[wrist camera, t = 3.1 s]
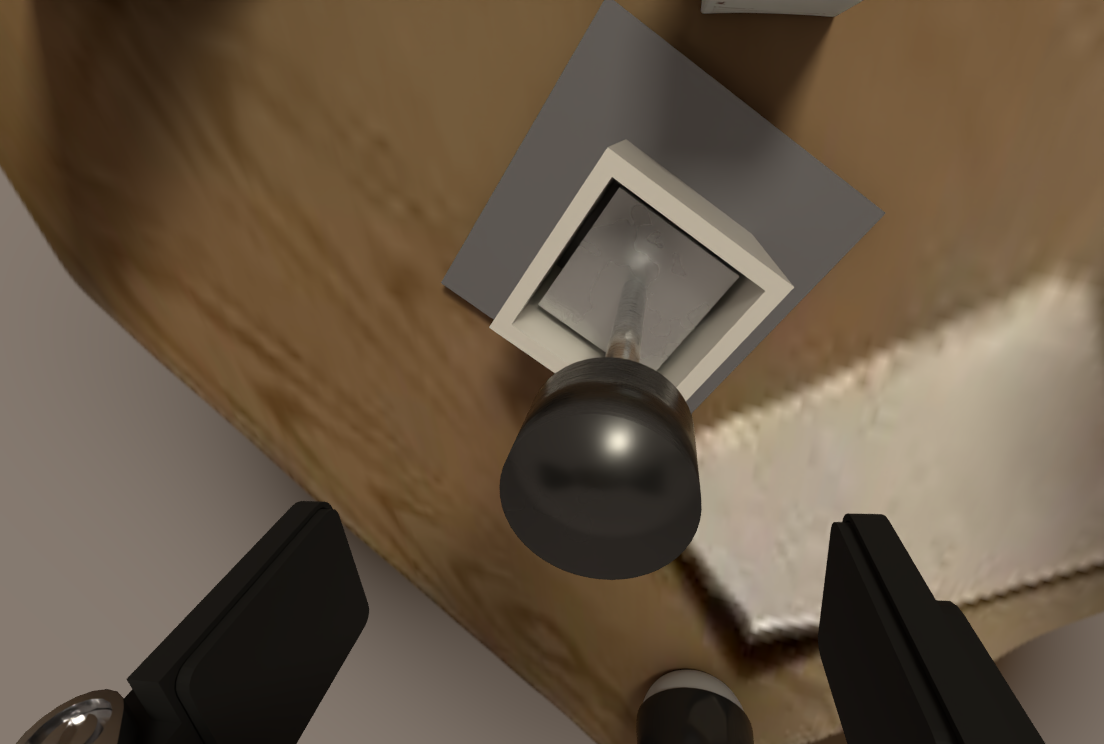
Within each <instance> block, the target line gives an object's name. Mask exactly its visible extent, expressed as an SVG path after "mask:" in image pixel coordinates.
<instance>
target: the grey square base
mask: <svg viewBox="0 0 1104 744" xmlns="http://www.w3.org/2000/svg"><path fill="white" fill-rule="evenodd" d="M620 186H622V187H623V188H625V189H626V190H627V191H629V192H630V193H631V194H633V195H634V196H635V197H637V198H638V199H639V200H641V201H642V202H643V203H645V204H646V205H647V206H649V207H650V208H652V209H653V210H654V211H656V212H657V213H658V214H660V215H661V216H662V217H664V218H665V219H666V220H668V221H669V222H670V223H672V224H673V225H674V226H676V227H677V228H678V229H680V230H681V231H682V232H684V233H685V234H686V235H688V236H689V237H690V238H692V239H693V240H695V241H696V242H697V243H699V244H700V245H701V246H703V247H704V248H705V249H707V250H708V251H709V252H711V253H712V254H713V255H715V256H716V257H717V258H719V259H720V260H721V261H723V262H724V263H725V264H727V265H728V266H729V267H731V268H732V269H734V270H735V271H736V272H737V273H738V275H739V278H738V279H737V280H736V281H735V282H734V283H733V284H732V286H731V287H730V288H729V289H728V290H727V291H726V292H725V294H724V295H723V296H722V297H721V298H720V299H719V300H718V301H717V303H716V304H715V305H714V306H713V307H712V308H711V309H710V311H709V312H708V313H707V314H706V315H705V316H704V317H703V318H702V320H701V321H700V322H699V323H698V324H697V325H696V326H695V328H694V329H693V330H692V331H691V332H690V333H689V334H688V335H687V337H686V338H685V339H684V340H683V341H682V342H681V343H680V345H679V346H678V347H677V348H676V349H675V350H674V351H673V352H672V354H671V355H670V356H669V357H668V358H667V359H666V360H665V361H664V363H663V364H662V365H661V366H660V367H659V368H658V369H657V372H659V373H660V374H662V375H663V376H664V377H665V378H667V379H668V380H669V381H670V382H671V383H672V384H673V385H674V386H675V387H676V388H677V389H678V390H679V392H680V393H681V395H682V396H683V397H684V399H685V401H686V403H687V405H688V407H689V409H690V412H691V413H692V412H693V411H694V410H695V409H696V408H697V407H698V406H699V405H700V404H701V403H702V402H703V401H704V400H705V399H706V398H707V397H708V396H709V395H710V394H711V393H712V392H713V391H714V389H715V388H716V387H717V386H718V385H719V384H720V383H721V382H722V381H723V380H724V379H725V378H726V377H727V376H728V375H729V374H730V373H731V372H732V371H733V370H734V369H735V368H736V367H737V366H738V365H739V364H740V363H741V362H742V361H743V360H744V359H745V358H746V357H747V355H748V354H749V353H750V352H751V351H752V350H753V349H754V348H755V347H756V346H757V345H758V344H759V343H760V342H761V341H762V340H763V339H764V338H765V337H766V336H767V335H768V334H769V333H770V332H771V331H772V330H773V329H774V328H775V327H776V326H777V325H778V324H779V323H780V321H781V320H782V319H783V318H784V317H785V316H786V315H787V314H788V313H789V312H790V311H791V310H792V309H793V308H794V307H795V306H796V305H797V304H798V303H799V302H800V301H801V300H802V299H803V298H804V297H805V296H806V295H807V294H808V293H809V292H810V291H811V290H812V289H813V287H814V286H815V285H816V284H817V283H818V282H819V281H820V280H821V279H822V278H823V277H824V276H825V275H826V274H827V273H828V272H829V271H830V270H831V269H832V268H833V267H834V266H835V265H836V264H837V263H838V262H839V261H840V260H841V259H842V258H843V257H844V256H845V255H846V253H847V252H848V251H849V250H850V249H851V248H852V247H853V246H854V245H855V244H856V243H857V242H858V241H859V240H860V239H861V238H862V237H863V236H864V235H865V234H866V233H867V232H868V231H869V230H870V229H871V228H872V227H873V226H874V225H875V224H876V223H877V222H878V221H879V220H880V218H881V217H882V216H883V215H884V214H885V212H884V211H882V210H881V209H880V208H879V207H877V206H876V205H875V204H873V203H872V202H871V201H870V200H868V199H867V198H866V197H864V196H863V195H862V194H861V193H859V192H858V191H857V190H856V189H854V188H853V187H852V186H850V185H849V184H848V183H847V182H845V181H844V180H843V179H841V178H840V177H839V176H838V175H836V174H835V173H834V172H833V171H831V170H830V169H829V168H827V167H826V166H825V165H824V164H822V163H821V162H820V161H818V160H817V159H816V158H815V157H813V156H812V155H811V154H809V153H808V152H807V151H806V150H804V149H803V148H802V147H801V146H799V145H798V144H797V143H795V142H794V141H793V140H792V139H790V138H789V137H788V136H786V135H785V134H784V133H783V132H781V131H780V130H779V129H778V128H776V127H775V126H774V125H772V124H771V123H770V122H769V121H767V120H766V119H765V118H763V117H762V116H761V115H760V114H758V113H757V112H756V111H755V110H753V109H752V108H751V107H749V106H748V105H747V104H746V103H744V102H743V101H742V100H740V99H739V98H738V97H737V96H735V95H734V94H733V93H732V92H730V91H729V90H728V89H726V88H725V87H724V86H723V85H721V84H720V83H719V82H717V81H716V80H715V79H714V78H712V77H711V76H710V75H708V74H707V73H706V72H705V71H703V70H702V69H701V68H700V67H698V66H697V65H696V64H694V63H693V62H692V61H691V60H689V59H688V58H687V57H685V56H684V55H683V54H682V53H680V52H679V51H678V50H677V49H675V48H674V47H673V46H671V45H670V44H669V43H668V42H666V41H665V40H664V39H662V38H661V37H660V36H659V35H657V34H656V33H655V32H654V31H652V30H651V29H650V28H648V27H647V26H646V25H645V24H643V23H642V22H641V21H639V20H638V19H637V18H636V17H634V16H633V15H632V14H631V13H629V12H628V11H627V10H625V9H624V8H623V7H622V6H620V5H619V4H618V3H616V2H615V1H614V0H604V2H603V3H602V5H601V7H600V8H599V10H598V12H597V14H596V15H595V17H594V19H593V21H592V22H591V24H590V26H589V28H588V29H587V31H586V33H585V34H584V36H583V38H582V40H581V41H580V43H579V45H578V47H577V48H576V50H575V52H574V54H573V55H572V57H571V59H570V60H569V62H568V64H567V66H566V67H565V69H564V71H563V73H562V74H561V76H560V78H559V79H558V81H557V83H556V85H555V86H554V88H553V90H552V92H551V93H550V95H549V97H548V99H547V100H546V102H545V104H544V105H543V107H542V109H541V111H540V112H539V114H538V116H537V118H536V119H535V121H534V123H533V125H532V126H531V128H530V130H529V131H528V133H527V135H526V137H525V138H524V140H523V142H522V144H521V145H520V147H519V149H518V150H517V152H516V154H515V156H514V157H513V159H512V161H511V163H510V164H509V166H508V168H507V170H506V171H505V173H504V175H503V176H502V178H501V180H500V182H499V183H498V185H497V187H496V189H495V190H494V192H493V194H492V196H491V197H490V199H489V201H488V202H487V204H486V206H485V208H484V209H483V211H482V213H481V215H480V216H479V218H478V220H477V222H476V223H475V225H474V227H473V228H472V230H471V232H470V234H469V235H468V237H467V239H466V241H465V242H464V244H463V246H462V247H461V249H460V251H459V253H458V254H457V256H456V258H455V260H454V261H453V263H452V265H451V267H450V268H449V270H448V272H447V273H446V275H445V277H444V279H443V280H442V282H441V283H442V284H443V285H445V286H446V287H447V288H449V289H450V290H452V291H453V292H455V293H456V294H458V295H459V296H460V297H462V298H463V299H465V300H466V301H468V302H469V303H470V304H472V305H473V306H475V307H476V308H478V309H479V310H480V311H482V312H483V313H485V314H486V315H488V316H489V317H491V318H492V319H493V320H494V321H493V322H492V324H491V325H490V327H489V328H491V329H492V330H493V331H495V332H496V333H498V334H499V335H501V336H502V337H503V338H505V339H506V340H508V341H509V342H511V343H512V344H514V345H515V346H516V347H518V348H519V349H521V350H522V351H524V352H525V353H527V354H528V355H529V356H531V357H532V358H534V359H535V360H537V361H538V362H540V363H541V364H542V365H544V366H545V367H547V368H548V369H550V370H551V371H552V372H554V373H556V372H558V371H560V370H561V369H563V368H564V367H566V366H568V365H571V364H573V363H575V362H578V361H582V360H585V359H590V358H597V357H605V356H606V352H604V351H603V350H602V349H600V348H599V347H597V346H596V345H594V344H593V343H592V342H590V341H589V340H587V339H586V338H585V337H583V336H582V335H580V334H579V333H577V332H576V331H575V330H573V329H572V328H570V327H569V326H568V325H566V324H565V323H563V322H562V321H560V320H559V319H558V318H556V317H555V316H553V315H552V314H550V313H549V312H548V311H546V310H545V309H543V308H542V307H541V306H539V305H538V304H539V303H540V301H541V300H542V298H543V297H544V295H545V294H546V292H547V291H548V290H549V288H550V287H551V285H552V284H553V282H554V281H555V279H556V278H557V277H558V275H559V274H560V272H561V271H562V269H563V268H564V267H565V265H566V264H567V262H568V261H569V259H570V258H571V256H572V255H573V254H574V252H575V251H576V249H577V248H578V246H579V245H580V243H581V242H582V241H583V239H584V238H585V236H586V235H587V233H588V232H589V230H590V229H591V228H592V226H593V225H594V223H595V222H596V220H597V219H598V218H599V216H600V215H601V213H602V212H603V210H604V209H605V207H606V206H607V205H608V203H609V202H610V200H611V199H612V197H613V196H614V194H615V193H616V192H617V190H618V189H619V187H620Z"/></svg>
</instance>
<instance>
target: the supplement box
mask: <svg viewBox="0 0 1104 744" xmlns="http://www.w3.org/2000/svg"><path fill="white" fill-rule="evenodd" d="M861 1H863V0H702V4H701V12H702V13H703V14H708V13H773V14H798V15H814V16H828V17H835V16H837V15H839V14H841V13H842V12H844V11H846V10H848V9H849V8H851V7H853V6H854V5H856V4H858V3H860V2H861Z"/></svg>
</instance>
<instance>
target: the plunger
mask: <svg viewBox="0 0 1104 744" xmlns="http://www.w3.org/2000/svg"><path fill="white" fill-rule="evenodd" d="M738 278H739V275H738V273H737V272H736V271H735V270H734V269H732V268H731V267H729V266H728V265H727V264H725V263H724V262H723V261H721V260H720V259H719V258H717V257H716V256H715V255H713V254H712V253H711V252H709V251H708V250H707V249H705V248H704V247H703V246H701V245H700V244H699V243H697V242H696V241H695V240H693V239H692V238H690V237H689V236H688V235H686V234H685V233H684V232H682V231H681V230H680V229H678V228H677V227H676V226H674V225H673V224H672V223H670V222H669V221H668V220H666V219H665V218H664V217H662V216H661V215H660V214H658V213H657V212H656V211H654V210H653V209H652V208H650V207H649V206H647V205H646V204H645V203H643V202H642V201H641V200H639V199H638V198H637V197H635V196H634V195H633V194H631V193H630V192H629V191H627V190H626V189H625V188H623V187H622V186H620V187H619V189H618V190H617V192H616V193H615V194H614V196H613V197H612V199H611V200H610V202H609V203H608V205H607V206H606V207H605V209H604V210H603V212H602V213H601V215H600V216H599V218H598V219H597V220H596V222H595V223H594V225H593V226H592V228H591V229H590V230H589V232H588V233H587V235H586V236H585V238H584V239H583V241H582V242H581V243H580V245H579V246H578V248H577V249H576V251H575V252H574V254H573V255H572V256H571V258H570V259H569V261H568V262H567V264H566V265H565V267H564V268H563V269H562V271H561V272H560V274H559V275H558V277H557V278H556V279H555V281H554V282H553V284H552V285H551V287H550V288H549V290H548V291H547V292H546V294H545V295H544V297H543V298H542V300H541V301H540V303H539V304H538V305H539V306H541V307H542V308H543V309H545V310H546V311H548V312H549V313H550V314H552V315H553V316H555V317H556V318H558V319H559V320H560V321H562V322H563V323H565V324H566V325H568V326H569V327H570V328H572V329H573V330H575V331H576V332H577V333H579V334H580V335H582V336H583V337H585V338H586V339H587V340H589V341H590V342H592V343H593V344H594V345H596V346H597V347H599V348H600V349H602V350H603V351H604V352H606V356H605V357H597V358H590V359H585V360H582V361H578V362H575V363H573V364H571V365H568V366H566V367H564V368H563V369H561V370H560V371H558V372H556V373H555V374H554V375H553V376H552V377H550V378H549V379H548V380H547V381H546V382H545V384H544V385H543V386H542V387H541V389H540V390H539V392H538V393H537V395H536V397H535V399H534V402H533V404H532V406H531V408H530V410H529V412H528V414H527V417H526V419H525V421H524V423H523V425H522V427H521V429H520V432H519V434H518V436H517V438H516V440H515V442H514V444H513V447H512V449H511V451H510V453H509V455H508V457H507V460H506V462H505V464H504V466H503V470H502V473H501V479H500V498H501V503H502V508H503V511H504V513H505V516H506V518H507V520H508V522H509V524H510V526H511V528H512V529H513V531H514V532H515V534H516V535H517V536H518V538H519V539H520V540H521V541H522V542H523V543H524V544H525V545H526V546H527V547H528V548H529V549H530V550H531V551H532V552H533V553H535V554H536V555H537V556H539V557H540V558H542V559H543V560H545V561H546V562H548V563H550V564H552V565H553V566H555V567H558V568H560V569H562V570H564V571H567V572H570V573H573V574H576V575H580V576H584V577H588V578H595V579H607V580H616V579H628V578H634V577H638V576H642V575H645V574H649V573H651V572H654V571H656V570H658V569H660V568H662V567H664V566H666V565H667V564H669V563H670V562H672V561H673V560H674V559H676V558H677V557H678V556H679V555H680V554H681V553H682V552H683V551H684V550H685V549H686V548H687V546H688V545H689V544H690V542H691V541H692V539H693V537H694V535H695V533H696V531H697V528H698V525H699V522H700V516H701V492H700V482H699V472H698V462H697V452H696V442H695V432H694V424H693V419H692V415H691V412H690V409H689V407H688V405H687V403H686V401H685V399H684V397H683V396H682V395H681V393H680V392H679V390H678V389H677V388H676V387H675V386H674V385H673V384H672V383H671V382H670V381H669V380H668V379H667V378H665V377H664V376H663V375H662V374H660V373H659V372H657V369H658V368H659V367H660V366H661V365H662V364H663V363H664V361H665V360H666V359H667V358H668V357H669V356H670V355H671V354H672V352H673V351H674V350H675V349H676V348H677V347H678V346H679V345H680V343H681V342H682V341H683V340H684V339H685V338H686V337H687V335H688V334H689V333H690V332H691V331H692V330H693V329H694V328H695V326H696V325H697V324H698V323H699V322H700V321H701V320H702V318H703V317H704V316H705V315H706V314H707V313H708V312H709V311H710V309H711V308H712V307H713V306H714V305H715V304H716V303H717V301H718V300H719V299H720V298H721V297H722V296H723V295H724V294H725V292H726V291H727V290H728V289H729V288H730V287H731V286H732V284H733V283H734V282H735V281H736V280H737V279H738Z"/></svg>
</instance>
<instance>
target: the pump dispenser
mask: <svg viewBox="0 0 1104 744" xmlns="http://www.w3.org/2000/svg"><path fill="white" fill-rule="evenodd" d="M636 733H637V744H754V738H753V731H752V726H751V723H750V720H749V718H748V717H747V715H746V714H745V712H744V711H743V708H742V706H741V704H740V702H739V701H738V699H737V697H736V696H735V695H734V693H733V692H732V691H731V690H730V689H729V687H727V686H726V685H725V684H724V683H723V682H722V681H720V680H719V679H717V678H716V677H714V676H712V675H710V674H707V673H705V672H701V671H697V670H677V671H673V672H670V673H667V674H665V675H663V676H662V677H660V678H659V679H658V680H657V681H656V682H654V684H653V685H652V686H651V687H650V689H649V690H648V692H647V694H646V696H645V698H644V701H643V703H642V705H641V706H640V708H639V710H638V714H637V723H636Z"/></svg>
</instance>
